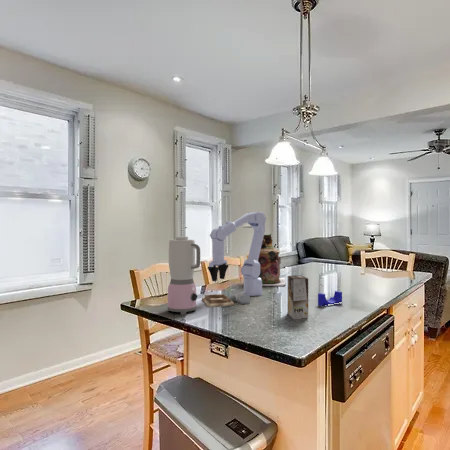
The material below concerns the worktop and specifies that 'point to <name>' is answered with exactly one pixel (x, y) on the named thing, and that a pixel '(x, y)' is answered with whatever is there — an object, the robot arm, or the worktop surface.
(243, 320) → the worktop surface
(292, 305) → the coffee box
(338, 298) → the cable clip
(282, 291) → the worktop surface
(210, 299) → the tray
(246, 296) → the block
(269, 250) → the cookie jar
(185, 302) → the blender
